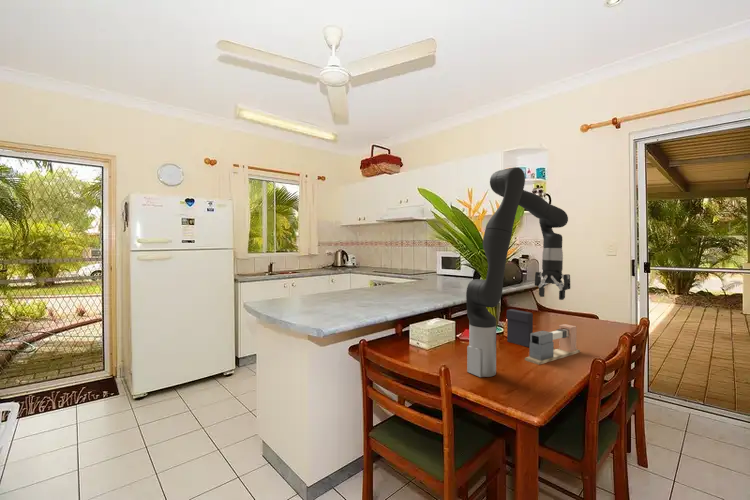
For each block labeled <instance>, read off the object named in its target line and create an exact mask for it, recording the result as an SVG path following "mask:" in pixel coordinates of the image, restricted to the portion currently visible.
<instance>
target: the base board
mask: <svg viewBox="0 0 750 500" xmlns="http://www.w3.org/2000/svg"><path fill="white" fill-rule="evenodd" d="M578 353H581V350H580V349H579V348H576V351H573V352H569V351H565V350H561V349H559V347H558V348H554V354H553V357H552V358H549V359H546V360H542V361H540V360H537V359H534V358H530V357H529V356H527V357H524V361H527V362H529V363H532V364H535V365H538V366H540V365H543V364H546V363H549V362H552V361H556V360H559V359H563V358H566V357H569V356H570V357H571V356H573V355H576V354H578Z"/></svg>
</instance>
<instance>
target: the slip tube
mask: <svg viewBox="0 0 750 500" xmlns="http://www.w3.org/2000/svg"><path fill="white" fill-rule="evenodd" d="M550 332H551V333H553V341H555V340H559V338H566V337H567V336H569V329H566V328H565V329H559V328H558V329H556V330H553V331H550Z"/></svg>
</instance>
